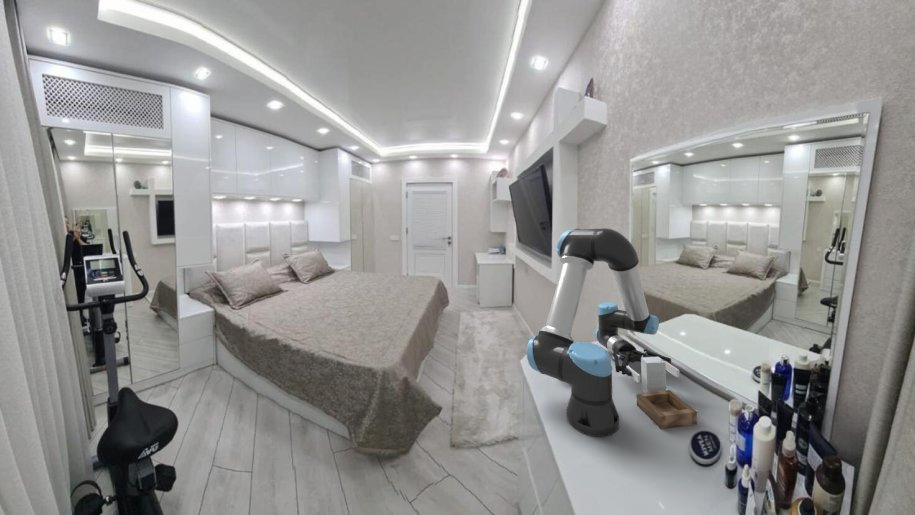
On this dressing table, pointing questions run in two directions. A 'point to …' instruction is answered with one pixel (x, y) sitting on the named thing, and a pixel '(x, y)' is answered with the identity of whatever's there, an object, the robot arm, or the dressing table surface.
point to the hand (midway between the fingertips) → (658, 376)
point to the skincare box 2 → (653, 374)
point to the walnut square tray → (666, 409)
